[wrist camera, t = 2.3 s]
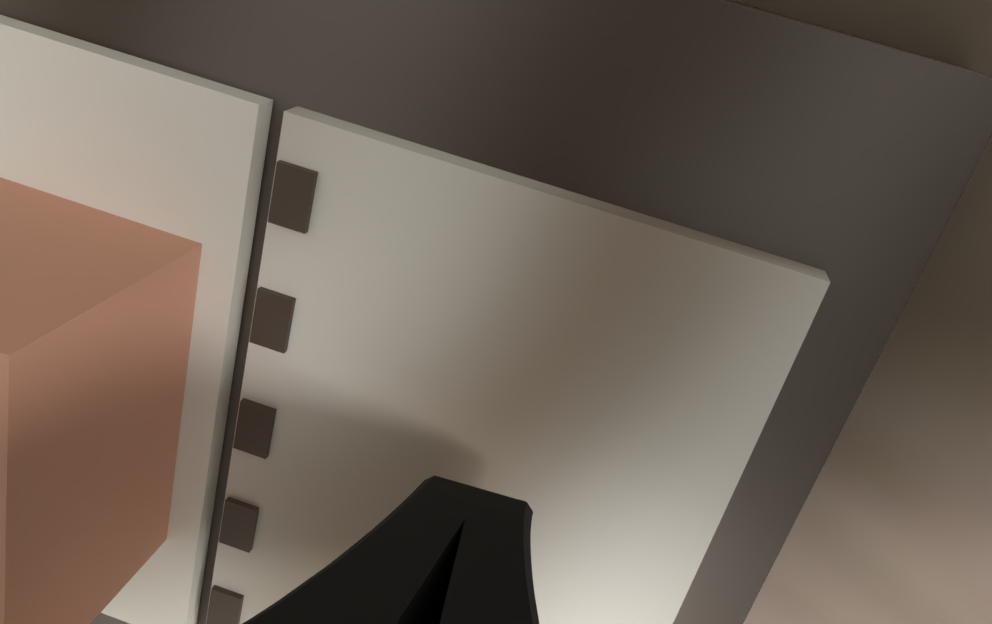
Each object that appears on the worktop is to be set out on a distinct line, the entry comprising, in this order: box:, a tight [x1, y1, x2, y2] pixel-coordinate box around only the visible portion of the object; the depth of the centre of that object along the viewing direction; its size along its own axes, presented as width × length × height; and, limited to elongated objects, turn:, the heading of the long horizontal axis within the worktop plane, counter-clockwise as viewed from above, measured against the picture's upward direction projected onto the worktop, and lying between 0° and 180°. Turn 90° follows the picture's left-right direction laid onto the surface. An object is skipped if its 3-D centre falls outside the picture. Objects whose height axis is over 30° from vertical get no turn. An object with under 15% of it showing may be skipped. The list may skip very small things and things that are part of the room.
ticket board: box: [0, 0, 992, 624], centre depth 13 cm, size 22×14×2 cm, turn 75°
